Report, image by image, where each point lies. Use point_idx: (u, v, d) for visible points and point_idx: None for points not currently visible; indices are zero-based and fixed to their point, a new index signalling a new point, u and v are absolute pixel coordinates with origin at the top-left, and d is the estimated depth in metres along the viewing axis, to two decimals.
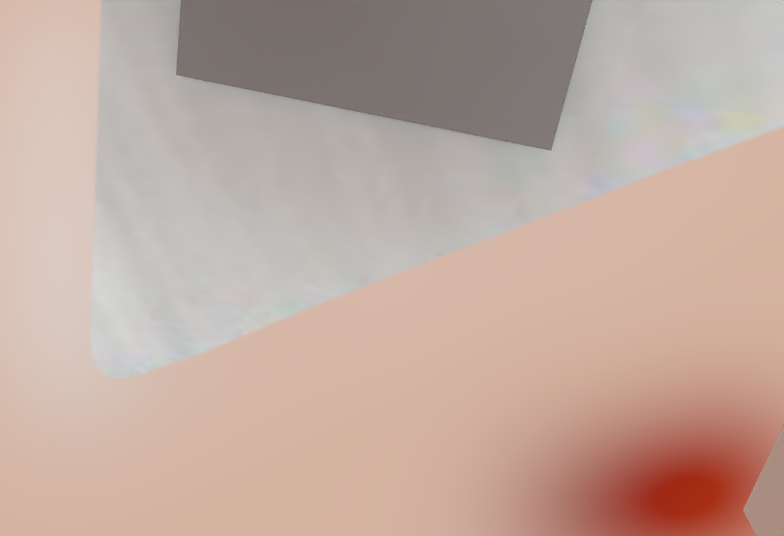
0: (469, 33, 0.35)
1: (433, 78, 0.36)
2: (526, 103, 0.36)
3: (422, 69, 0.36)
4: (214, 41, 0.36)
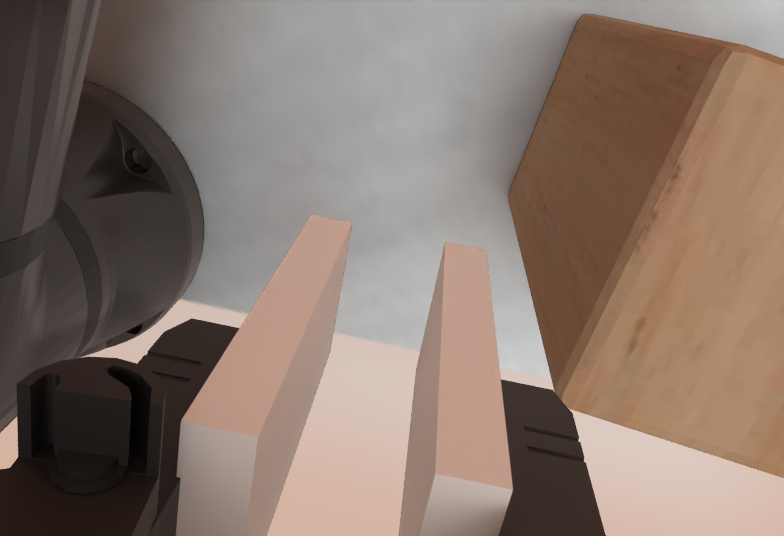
0: None
1: None
2: None
3: None
4: None
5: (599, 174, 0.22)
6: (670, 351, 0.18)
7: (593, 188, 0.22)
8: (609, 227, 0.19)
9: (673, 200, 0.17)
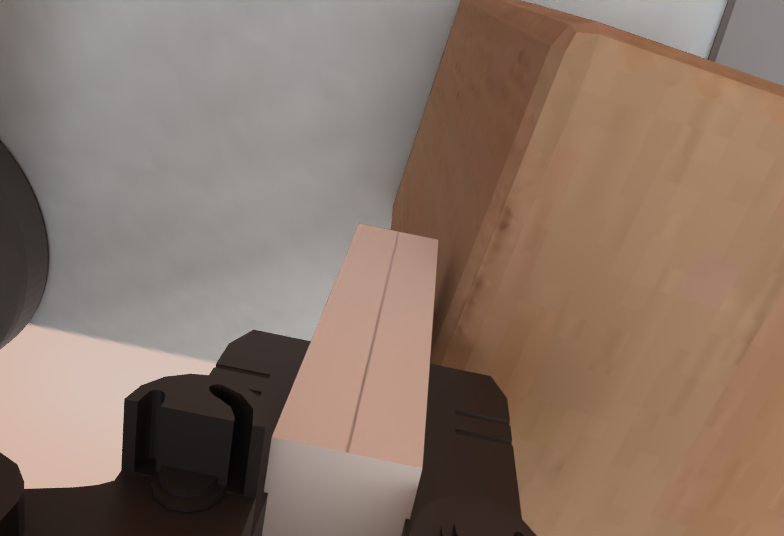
0: None
1: None
2: None
3: None
4: None
5: (444, 202, 0.16)
6: (519, 471, 0.12)
7: (437, 221, 0.16)
8: (438, 287, 0.13)
9: (504, 262, 0.11)
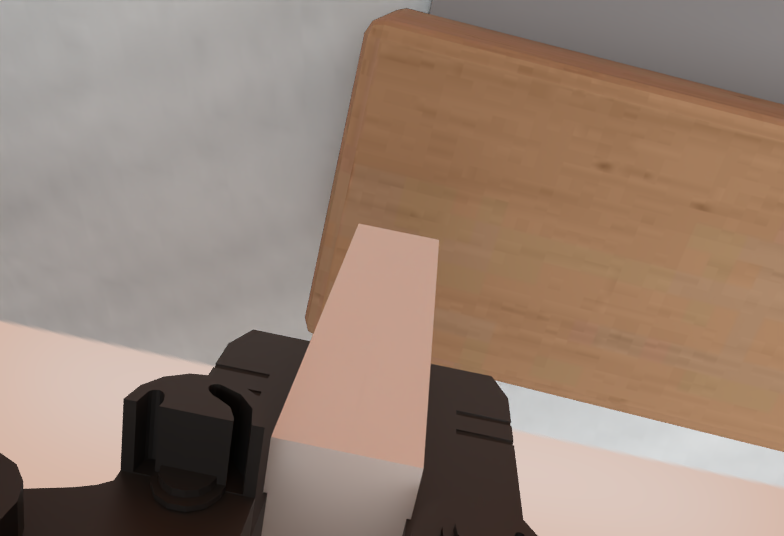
0: (694, 60, 0.28)
1: None
2: None
3: None
4: None
5: None
6: None
7: None
8: None
9: None
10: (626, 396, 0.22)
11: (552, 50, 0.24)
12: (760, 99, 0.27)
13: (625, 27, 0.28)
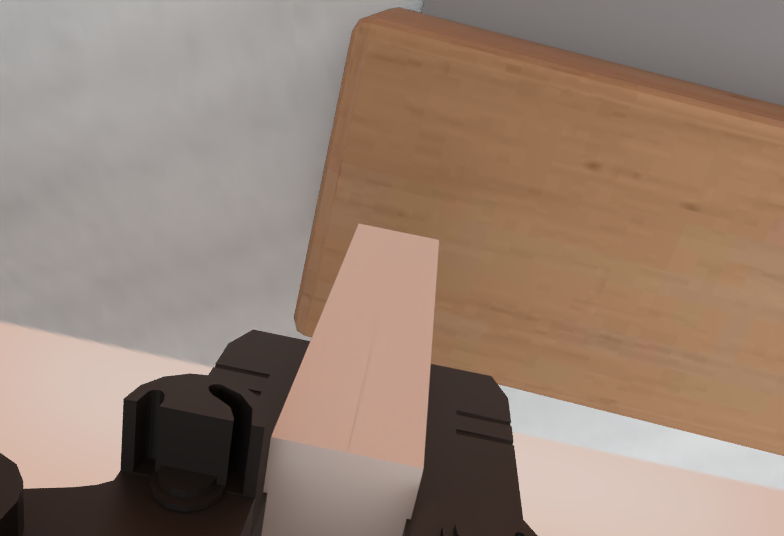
0: (688, 60, 0.28)
1: None
2: None
3: None
4: None
5: None
6: None
7: None
8: None
9: None
10: (616, 397, 0.22)
11: (543, 49, 0.24)
12: (754, 99, 0.27)
13: (619, 26, 0.27)
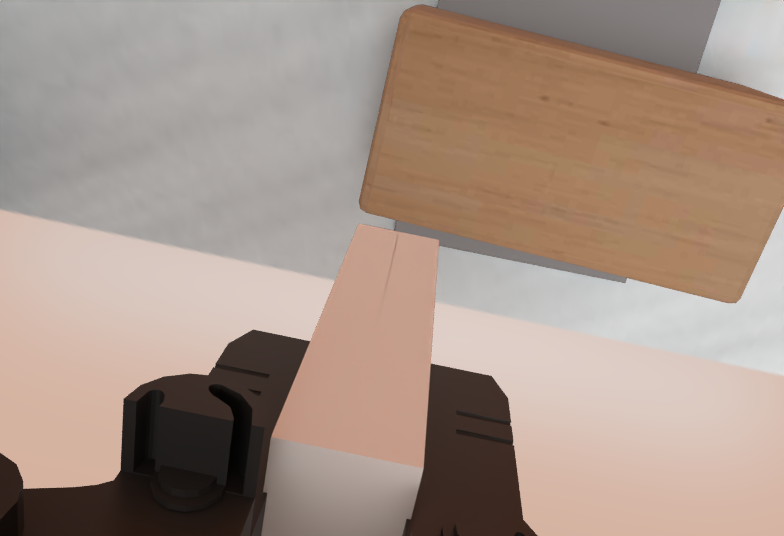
0: (619, 39, 0.41)
1: None
2: None
3: None
4: None
5: (681, 182, 0.33)
6: None
7: (678, 191, 0.34)
8: (739, 212, 0.34)
9: None
10: (563, 249, 0.35)
11: (518, 31, 0.37)
12: (662, 65, 0.40)
13: (571, 16, 0.40)
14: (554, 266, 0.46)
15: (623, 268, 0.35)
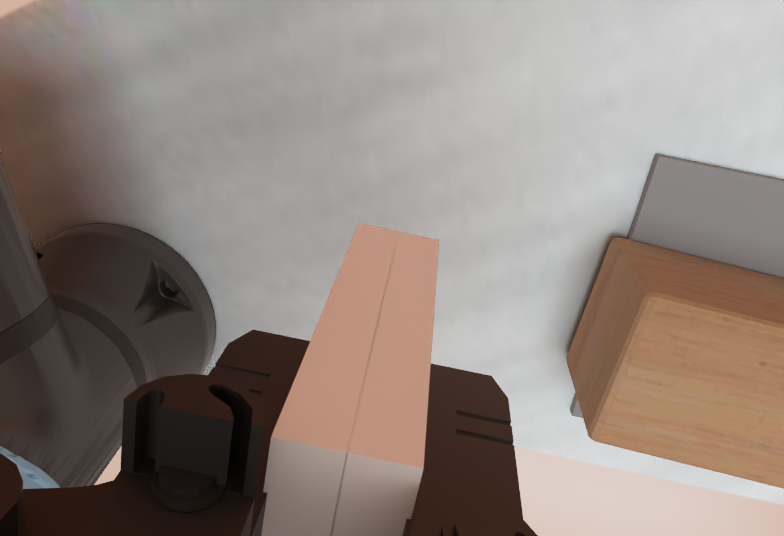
0: None
1: None
2: None
3: None
4: None
5: None
6: None
7: None
8: None
9: None
10: (764, 475, 0.41)
11: (717, 278, 0.43)
12: None
13: (749, 248, 0.47)
14: None
15: None
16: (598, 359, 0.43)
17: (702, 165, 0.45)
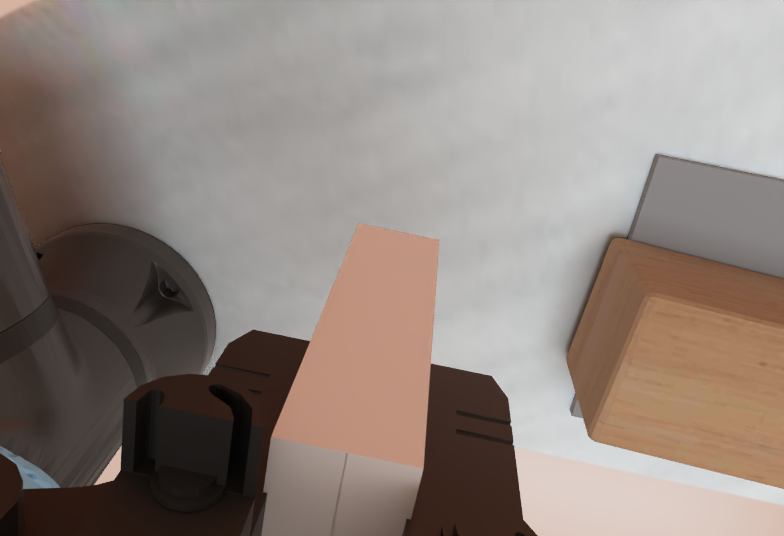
0: None
1: None
2: None
3: None
4: None
5: None
6: None
7: None
8: None
9: None
10: (764, 475, 0.41)
11: (717, 278, 0.43)
12: None
13: (749, 248, 0.47)
14: None
15: None
16: (598, 359, 0.43)
17: (702, 165, 0.45)
